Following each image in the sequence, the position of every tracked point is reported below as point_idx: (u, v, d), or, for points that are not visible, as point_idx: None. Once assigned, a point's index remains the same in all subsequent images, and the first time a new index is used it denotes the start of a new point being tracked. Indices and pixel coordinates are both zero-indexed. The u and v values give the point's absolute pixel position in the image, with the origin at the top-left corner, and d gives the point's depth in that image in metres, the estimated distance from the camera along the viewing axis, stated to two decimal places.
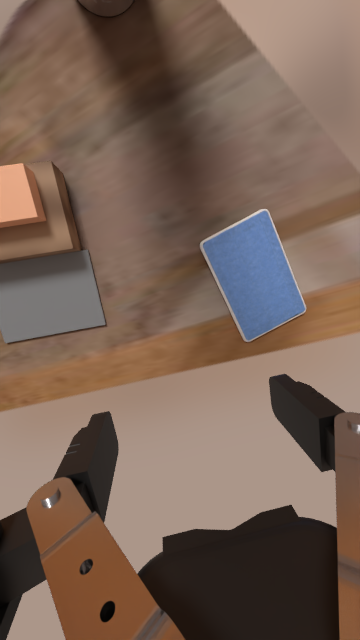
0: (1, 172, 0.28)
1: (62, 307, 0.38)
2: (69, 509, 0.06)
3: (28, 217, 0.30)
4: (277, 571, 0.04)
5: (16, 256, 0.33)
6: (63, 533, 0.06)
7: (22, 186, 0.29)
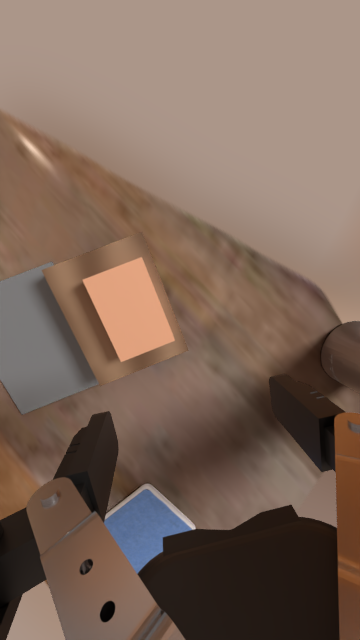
0: (159, 319, 0.24)
1: (28, 363, 0.30)
2: (69, 509, 0.06)
3: (117, 352, 0.24)
4: (277, 571, 0.04)
5: (71, 326, 0.26)
6: (63, 533, 0.06)
7: (150, 342, 0.25)
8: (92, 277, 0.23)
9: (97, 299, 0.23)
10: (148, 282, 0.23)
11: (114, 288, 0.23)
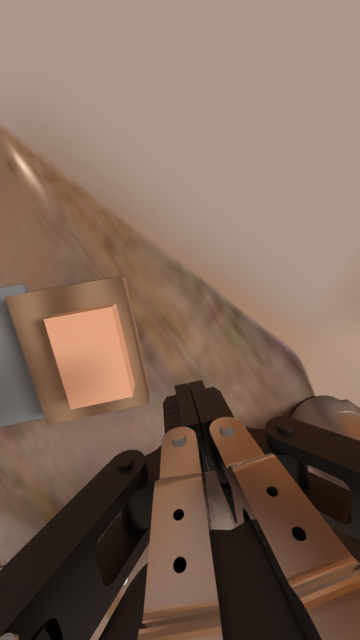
0: (120, 372, 0.23)
1: None
2: (187, 458, 0.07)
3: (68, 398, 0.23)
4: (277, 571, 0.04)
5: (27, 359, 0.24)
6: (177, 474, 0.07)
7: (106, 394, 0.23)
8: (55, 318, 0.21)
9: (56, 342, 0.22)
10: (114, 333, 0.22)
11: (76, 333, 0.22)
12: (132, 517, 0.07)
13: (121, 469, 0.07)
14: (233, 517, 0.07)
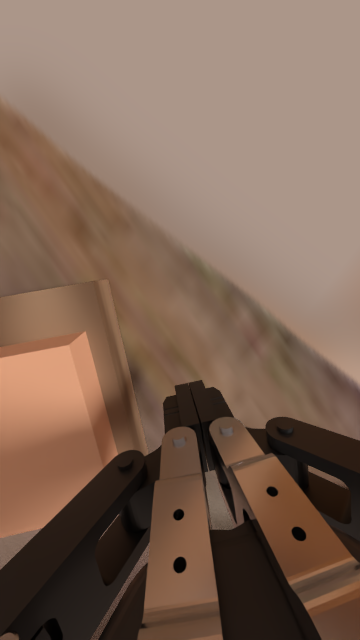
0: (90, 470, 0.12)
1: None
2: (187, 458, 0.07)
3: None
4: (277, 571, 0.04)
5: None
6: (177, 474, 0.07)
7: None
8: None
9: None
10: (76, 396, 0.11)
11: None
12: (132, 517, 0.07)
13: (121, 469, 0.07)
14: (233, 517, 0.07)
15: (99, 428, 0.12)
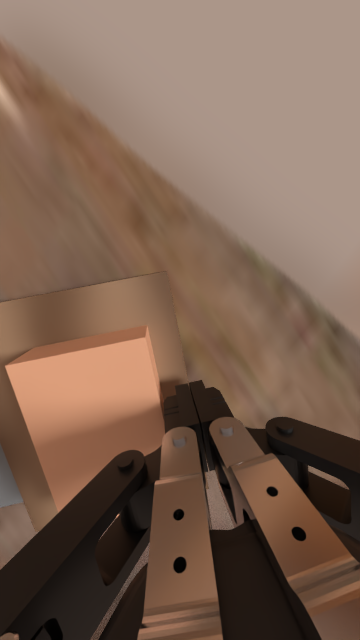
0: None
1: None
2: (187, 458, 0.07)
3: None
4: (277, 571, 0.04)
5: None
6: (177, 474, 0.07)
7: None
8: (29, 363, 0.10)
9: (33, 409, 0.11)
10: (150, 388, 0.11)
11: (74, 391, 0.11)
12: (132, 517, 0.07)
13: (121, 469, 0.07)
14: (233, 517, 0.07)
15: None
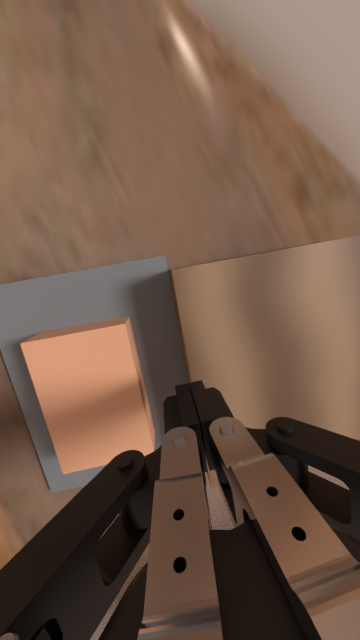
0: None
1: None
2: (187, 458, 0.07)
3: (150, 417, 0.18)
4: (277, 571, 0.04)
5: (193, 380, 0.14)
6: (177, 474, 0.07)
7: None
8: None
9: None
10: None
11: None
12: (132, 517, 0.07)
13: (121, 469, 0.07)
14: (233, 517, 0.07)
15: None
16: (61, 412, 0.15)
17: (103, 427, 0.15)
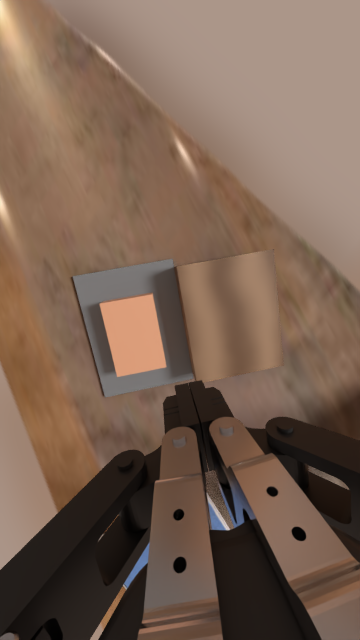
0: None
1: None
2: (187, 458, 0.07)
3: None
4: (277, 571, 0.04)
5: (187, 323, 0.27)
6: (177, 474, 0.07)
7: None
8: (145, 294, 0.29)
9: None
10: None
11: None
12: (132, 517, 0.07)
13: (121, 469, 0.07)
14: (233, 517, 0.07)
15: None
16: (118, 341, 0.28)
17: (139, 350, 0.28)
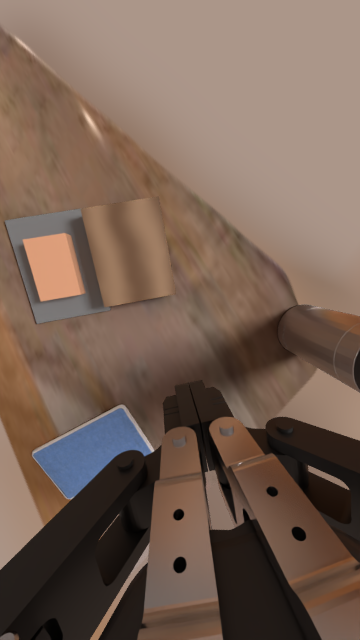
0: None
1: None
2: (187, 458, 0.07)
3: (83, 286, 0.38)
4: (277, 571, 0.04)
5: (92, 255, 0.34)
6: (177, 474, 0.07)
7: None
8: None
9: None
10: None
11: None
12: (132, 517, 0.07)
13: (121, 469, 0.07)
14: (233, 517, 0.07)
15: None
16: (39, 271, 0.35)
17: (57, 280, 0.36)
